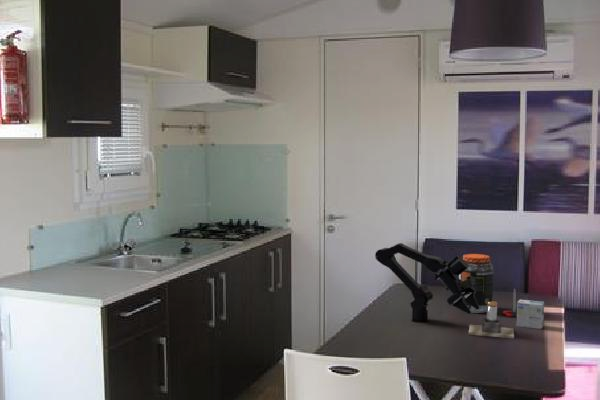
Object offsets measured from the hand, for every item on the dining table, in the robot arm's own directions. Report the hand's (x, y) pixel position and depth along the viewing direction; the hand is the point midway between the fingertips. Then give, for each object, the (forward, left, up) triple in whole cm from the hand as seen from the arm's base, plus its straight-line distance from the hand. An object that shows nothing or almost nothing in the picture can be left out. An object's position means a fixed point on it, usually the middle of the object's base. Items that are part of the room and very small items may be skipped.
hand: (474, 311), depth 295 cm
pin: (+7, -3, -7) cm, 10 cm away
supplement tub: (-1, +35, -8) cm, 36 cm away
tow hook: (+16, +31, -8) cm, 36 cm away
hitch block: (+7, -3, -8) cm, 11 cm away
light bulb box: (+23, +13, -8) cm, 28 cm away
